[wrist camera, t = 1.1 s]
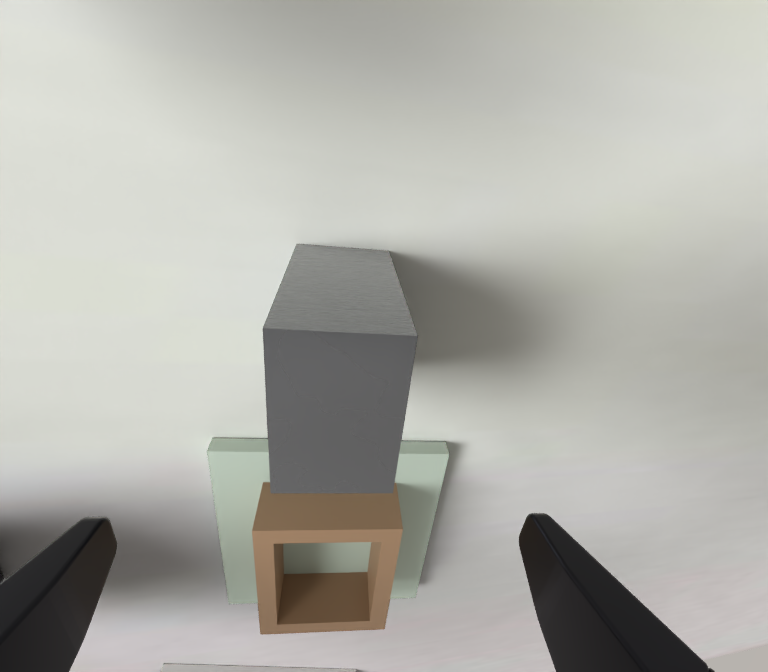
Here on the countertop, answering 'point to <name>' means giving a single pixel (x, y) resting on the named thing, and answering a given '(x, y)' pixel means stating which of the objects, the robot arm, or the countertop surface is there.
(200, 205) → the countertop surface
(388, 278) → the brushed grey metal block
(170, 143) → the countertop surface
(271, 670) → the hinge
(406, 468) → the post socket
